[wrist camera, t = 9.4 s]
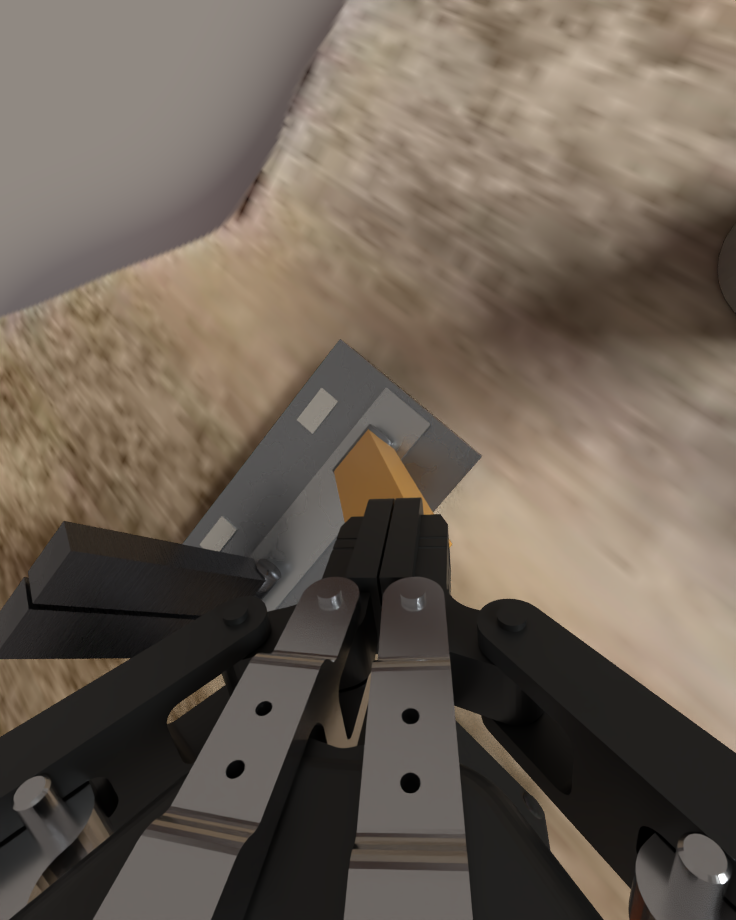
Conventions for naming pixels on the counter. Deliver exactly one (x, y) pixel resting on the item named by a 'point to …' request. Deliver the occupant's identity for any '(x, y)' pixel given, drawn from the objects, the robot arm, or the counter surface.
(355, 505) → the lever
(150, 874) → the robot arm
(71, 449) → the counter surface
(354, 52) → the counter surface
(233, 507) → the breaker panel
